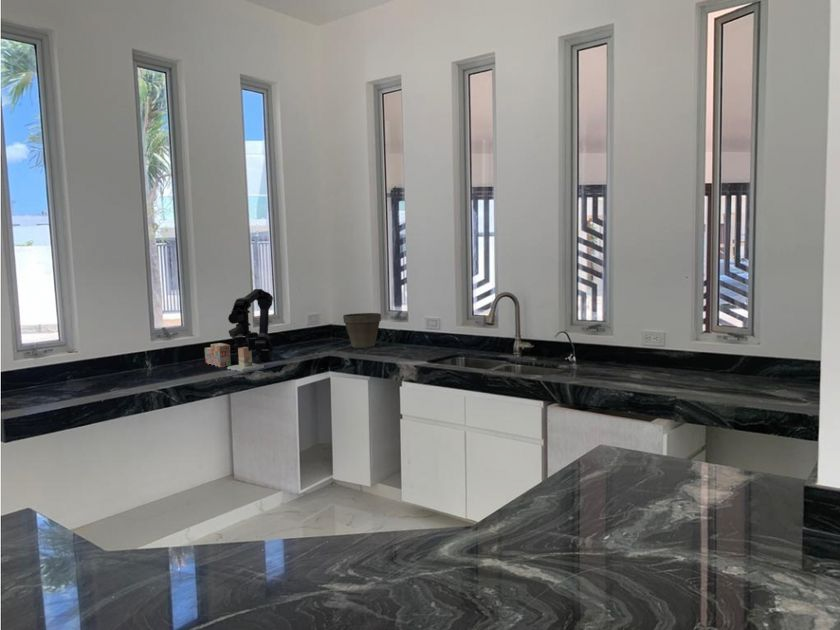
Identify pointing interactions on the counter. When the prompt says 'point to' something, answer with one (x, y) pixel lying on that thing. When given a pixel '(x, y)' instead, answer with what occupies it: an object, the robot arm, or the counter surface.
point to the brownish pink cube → (244, 352)
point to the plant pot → (362, 328)
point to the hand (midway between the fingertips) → (244, 350)
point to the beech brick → (245, 361)
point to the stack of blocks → (218, 355)
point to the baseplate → (240, 368)
